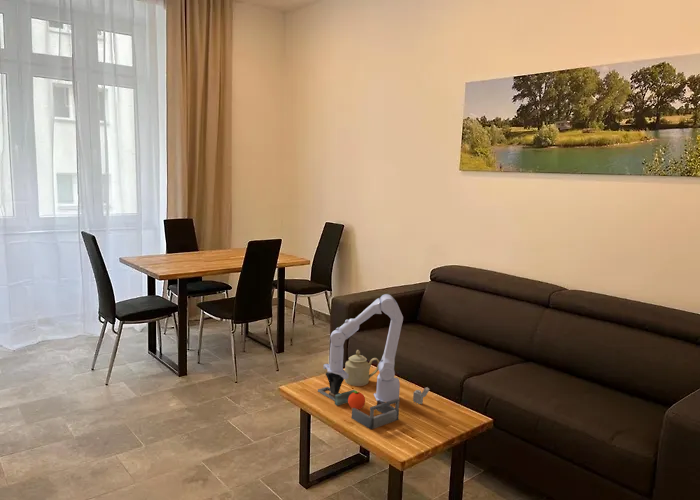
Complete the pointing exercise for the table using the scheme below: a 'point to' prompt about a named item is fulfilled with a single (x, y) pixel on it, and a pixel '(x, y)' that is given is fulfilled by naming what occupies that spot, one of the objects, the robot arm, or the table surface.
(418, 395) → the lighter
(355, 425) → the table surface
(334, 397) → the track
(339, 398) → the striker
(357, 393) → the tomato
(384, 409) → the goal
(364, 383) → the beige teapot
